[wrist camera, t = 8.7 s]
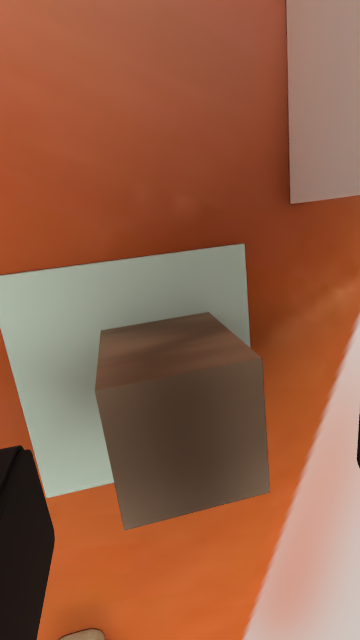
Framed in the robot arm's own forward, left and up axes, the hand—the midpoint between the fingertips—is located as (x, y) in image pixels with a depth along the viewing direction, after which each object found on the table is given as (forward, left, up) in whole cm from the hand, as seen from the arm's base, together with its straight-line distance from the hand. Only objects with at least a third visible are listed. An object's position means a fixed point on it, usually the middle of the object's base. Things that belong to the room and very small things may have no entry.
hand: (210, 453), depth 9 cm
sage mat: (+1, +1, -8) cm, 8 cm away
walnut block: (0, +1, -7) cm, 7 cm away
